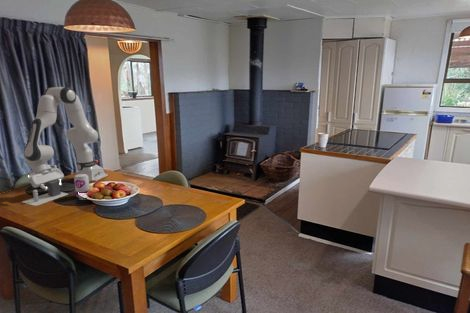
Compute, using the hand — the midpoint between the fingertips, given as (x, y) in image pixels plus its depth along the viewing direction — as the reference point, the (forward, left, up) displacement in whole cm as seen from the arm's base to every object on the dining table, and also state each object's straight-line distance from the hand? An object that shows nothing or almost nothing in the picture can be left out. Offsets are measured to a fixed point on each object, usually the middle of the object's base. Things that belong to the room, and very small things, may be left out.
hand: (54, 187), depth 209 cm
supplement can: (-7, +17, -7) cm, 20 cm away
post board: (+6, -1, -6) cm, 9 cm away
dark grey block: (0, -1, -5) cm, 5 cm away
